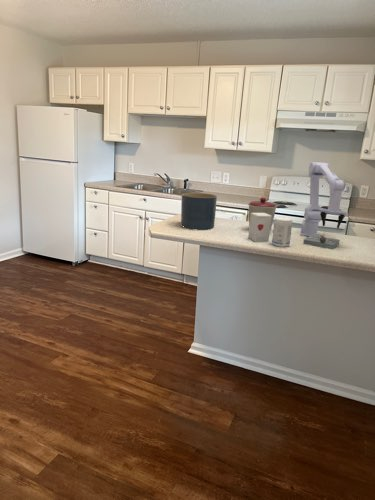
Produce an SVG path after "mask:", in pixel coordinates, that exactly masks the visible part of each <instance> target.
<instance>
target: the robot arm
mask: <svg viewBox="0 0 375 500" xmlns="http://www.w3.org/2000/svg"><path fill="white" fill-rule="evenodd" d="M324 176H325V182H326V183H327V184H328V185H329V186H328V187H329V194H330V195H329V201H328V208H327V209H326V208H322V207H321V206H320V205H319V197H320V195H319V194H320V179H321V178H323V177H324ZM308 177H309V178H310V179H309V180H310V181H309V182H310V184H309V205H308V206H306V207H305V208H304V212H303V219H304V220H302V221H301V227H300V233H299V235H301V236H306V237H309V236H311V235H315V236H319V233H318V228H319V223H320V222H321V221H322V227H325V226H326V221H327V215H329V214H330V215H337V216H338V219H337V225H336V229H340V226H341V224H342V221H343V220H344V219H345V217H347V216H348V213H349V212H348V211H343V210H340V206H341V201H342V194H343V191H345V189H346V182H345V180H343V179H340V178H339V176H338V175H337V174H336V173H335V172H332V171H331V170H330V164H329V163H328V162H318V161H317V162H315V161H311V162H310V163H309V166H308Z"/></svg>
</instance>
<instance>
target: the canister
mask: <svg viewBox="0 0 375 500" xmlns="http://www.w3.org/2000/svg"><path fill="white" fill-rule="evenodd" d="M247 206H248V224H249V225H248V227H249V226H250V217H251V213H266V214H269V215H271V216H272V217H271V225H270V230H271V229H272V228H273V224H274V220H275V214H276V210H277V208H278V204H277V205H276V203H274V202H271V201H267V198H265V197H260V198H259V200H254V201H250V202H249V203H247Z"/></svg>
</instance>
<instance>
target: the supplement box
mask: <svg viewBox="0 0 375 500" xmlns="http://www.w3.org/2000/svg"><path fill="white" fill-rule="evenodd" d="M271 217H272V216H271V215H269V214H266V213H251V217H250V226H249V225H248V235H247V236H248V239H250V240H252V241H253V242H269V239H270V232H271V229H270V225H271Z"/></svg>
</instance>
